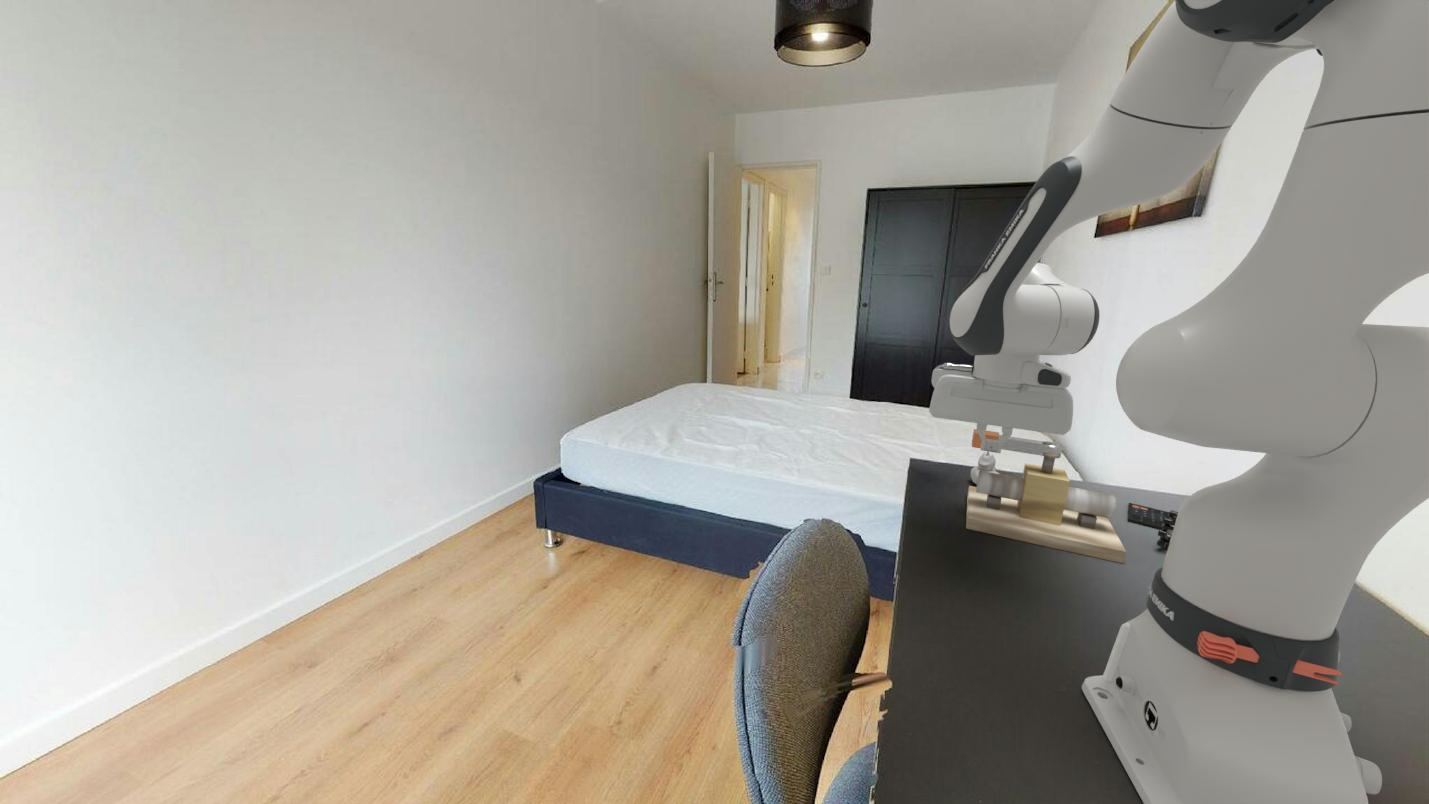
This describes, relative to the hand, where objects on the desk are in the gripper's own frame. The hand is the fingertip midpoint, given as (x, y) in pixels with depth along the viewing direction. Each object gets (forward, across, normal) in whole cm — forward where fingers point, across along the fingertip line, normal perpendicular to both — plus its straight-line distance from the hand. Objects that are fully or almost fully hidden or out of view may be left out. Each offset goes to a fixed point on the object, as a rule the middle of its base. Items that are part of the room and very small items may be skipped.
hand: (990, 451), depth 85 cm
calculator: (+14, +31, +22) cm, 41 cm away
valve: (+15, +33, +7) cm, 36 cm away
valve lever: (+1, +4, +7) cm, 9 cm away
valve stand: (+14, +9, +8) cm, 19 cm away
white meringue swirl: (+14, +1, +24) cm, 27 cm away
